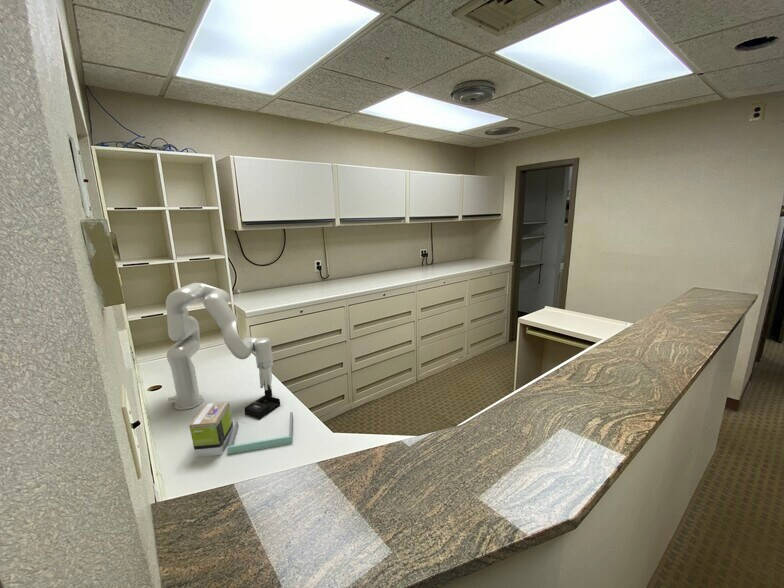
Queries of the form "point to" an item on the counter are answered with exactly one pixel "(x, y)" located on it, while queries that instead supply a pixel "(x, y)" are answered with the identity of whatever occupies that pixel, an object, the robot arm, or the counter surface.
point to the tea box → (212, 429)
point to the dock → (258, 444)
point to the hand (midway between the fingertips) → (268, 396)
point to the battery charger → (262, 407)
